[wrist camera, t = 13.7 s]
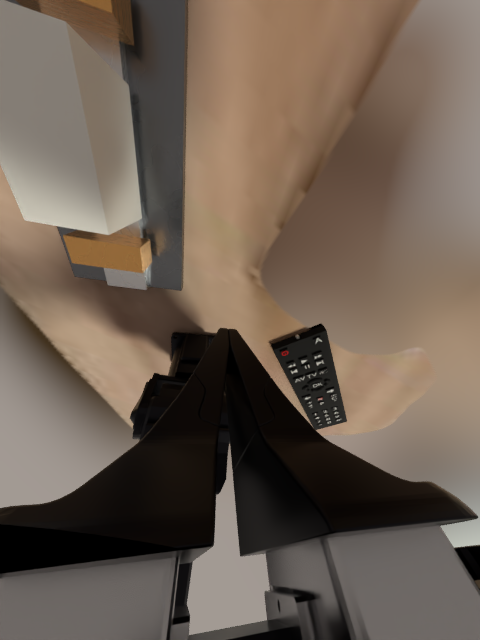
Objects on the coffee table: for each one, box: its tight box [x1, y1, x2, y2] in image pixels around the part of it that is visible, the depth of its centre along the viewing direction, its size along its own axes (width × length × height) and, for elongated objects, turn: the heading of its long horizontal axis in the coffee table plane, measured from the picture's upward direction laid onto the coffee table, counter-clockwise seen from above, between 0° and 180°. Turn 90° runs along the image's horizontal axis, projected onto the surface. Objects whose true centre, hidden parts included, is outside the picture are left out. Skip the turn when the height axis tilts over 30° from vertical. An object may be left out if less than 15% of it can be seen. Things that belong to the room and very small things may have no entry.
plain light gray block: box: [0, 0, 142, 235], centre depth 10 cm, size 7×4×6 cm, turn 169°
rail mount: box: [6, 0, 188, 291], centre depth 12 cm, size 20×10×4 cm, turn 169°
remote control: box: [272, 324, 347, 430], centre depth 35 cm, size 8×32×2 cm, turn 25°
